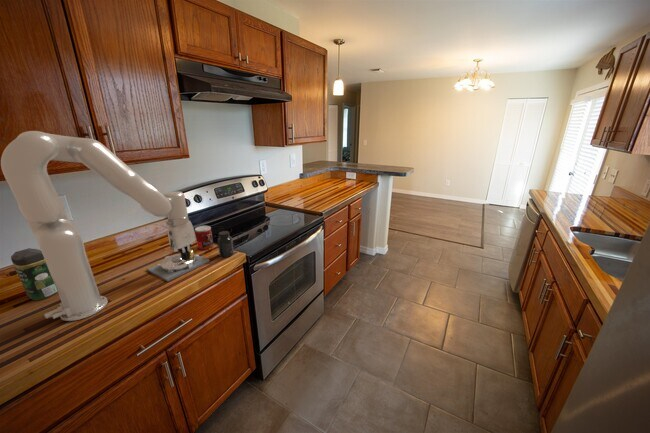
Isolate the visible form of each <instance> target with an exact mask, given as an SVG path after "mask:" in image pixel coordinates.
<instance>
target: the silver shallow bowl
mask: <svg viewBox="0 0 650 433" xmlns="http://www.w3.org/2000/svg"><path fill="white" fill-rule="evenodd" d="M194 254H196V253H194V250H193V249H190V250H189V256H190V259H189V260H187V261H186V260H182V258H181V253H180V252H179V253H176V254H172V255H167V256H165V257H164V259H162V260H161V261H160V263H161V264H159V263H157V264H158V268H159V270H161V269H162V270H164V271H167V272H168V273H173V272H174V271H180V270H183V269H186V268H191V267H193V264H194V263H195V261H196V260H198V257H197V255H198V254H196V255H194Z"/></svg>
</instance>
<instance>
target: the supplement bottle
mask: <svg viewBox="0 0 650 433" xmlns="http://www.w3.org/2000/svg"><path fill="white" fill-rule="evenodd" d="M217 247H218V248H217V249H218V254H219V257H221V258H229V256H230V257H233V255H234V254H235V252H234V243H233V238H232V237H231V236H230V232H229V231H228V230H223V231H219V232H218V238H217Z"/></svg>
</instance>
